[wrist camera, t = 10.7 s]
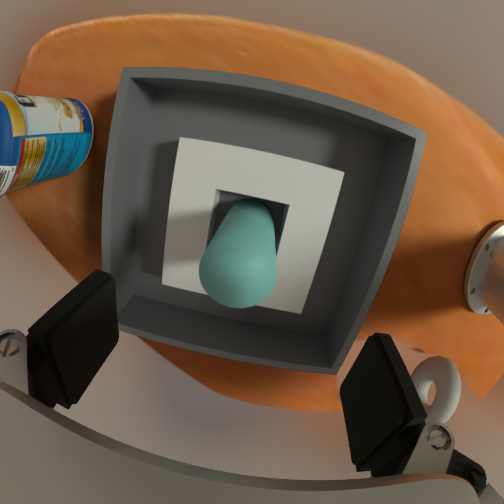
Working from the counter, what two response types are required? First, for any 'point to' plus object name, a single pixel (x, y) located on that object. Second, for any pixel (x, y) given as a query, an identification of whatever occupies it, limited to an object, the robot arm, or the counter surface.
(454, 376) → the donut
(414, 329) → the counter surface
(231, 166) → the open box
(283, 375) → the counter surface
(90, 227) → the counter surface
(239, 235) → the peg
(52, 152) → the beverage bottle
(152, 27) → the counter surface
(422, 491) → the robot arm
